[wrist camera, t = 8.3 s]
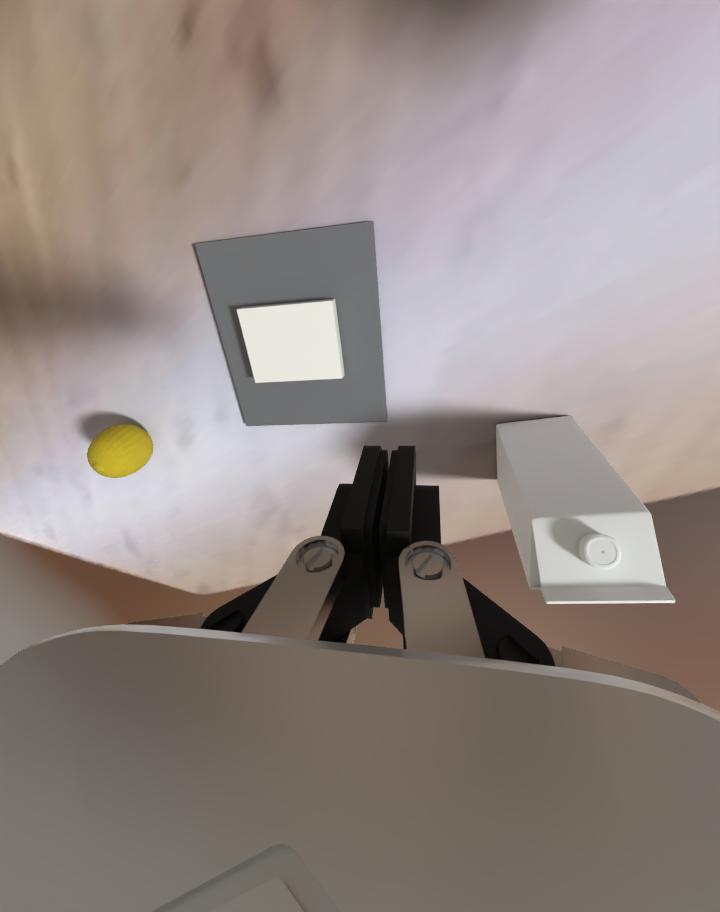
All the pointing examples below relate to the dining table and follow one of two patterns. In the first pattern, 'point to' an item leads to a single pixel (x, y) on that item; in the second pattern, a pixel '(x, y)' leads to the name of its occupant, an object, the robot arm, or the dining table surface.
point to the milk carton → (575, 517)
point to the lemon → (120, 450)
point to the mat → (297, 280)
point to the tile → (293, 341)
